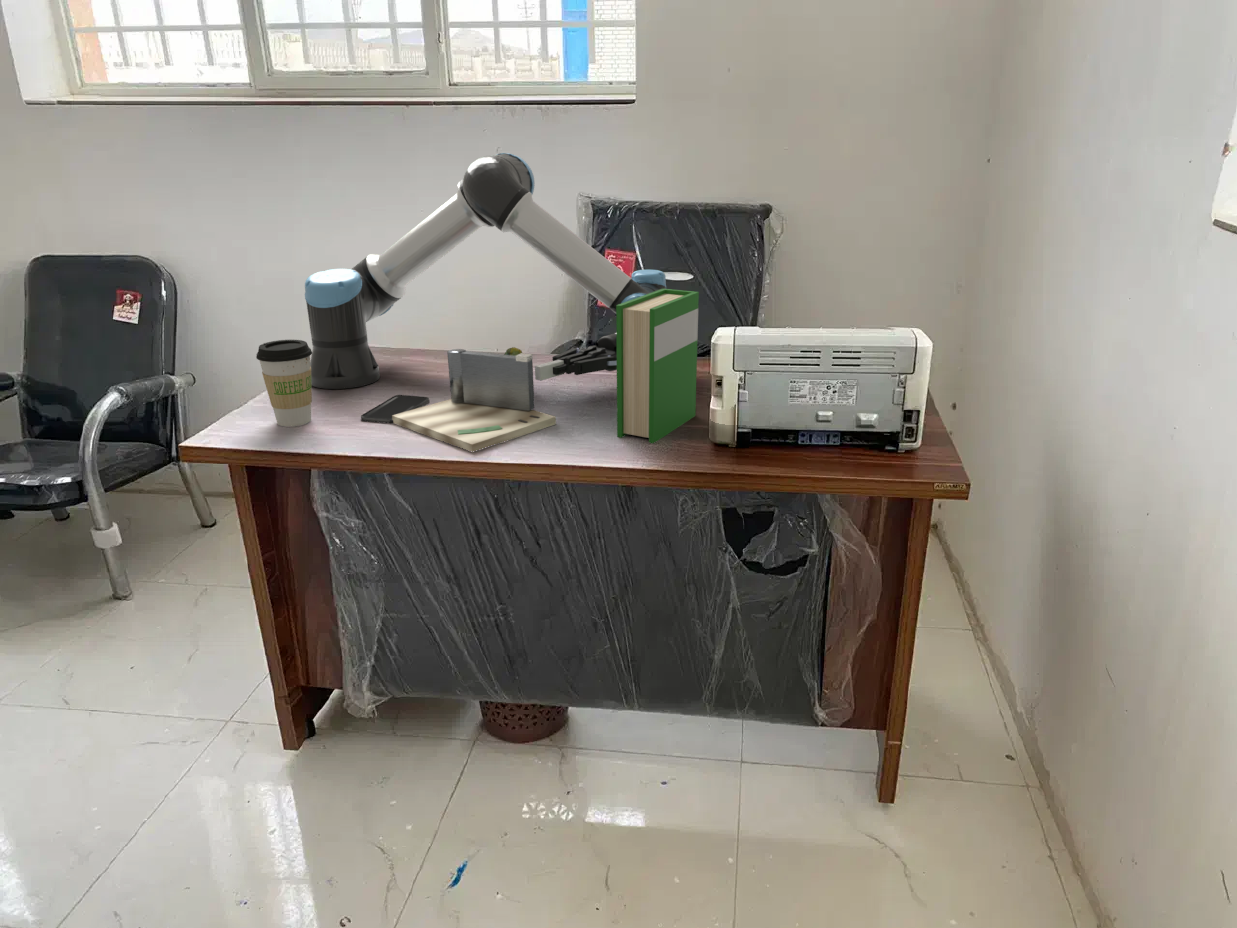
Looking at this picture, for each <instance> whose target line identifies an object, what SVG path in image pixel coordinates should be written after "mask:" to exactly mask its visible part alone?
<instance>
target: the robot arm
mask: <svg viewBox="0 0 1237 928" xmlns="http://www.w3.org/2000/svg"><path fill="white" fill-rule="evenodd" d="M534 191H535V176H534V173H533V171H532V169H531V167H530V166H529V163H527V162H526V161H525V160H524V159H523V158H521V156H518V155H515V154H512V153H509V152H501V153H500V152H499V153H496V154H494V155H485V156H481V157H479V158H476V159H475V160H473V162H471V163H470V165H469V166H468V167H467V168H466V170H465V172H464V175H463V178H462V179H461V180H459V181H458V183H457V191H456V193H455V194H454V195H452V196H451V197H450V198H449V199H448V200H447V201H446V202H444V203H443V204H442V205H441V206H439V207H438V208H437V209H435V210H434V211H433V212H432V213H431V214H429V215H428V216H427V217H426V218H424V219H423V220H422V221H421V222H419V223H418V224H417V225H415V226H414V227H413V228H411V229H410V231H408V232H407V233H406V234H404V235H403V236H402V237H401V238H399V239H398V240H397V241H396V242H394V243H393V244H392V245H391V246H390V247H388V248H387V249H386V250H385V251H383V252H382V253H381V254H376V253H370V254H368V255H367V256H365V258H363V259H362V260H360V261H359V262H358V263H357V264H356V265H355V266H353V267H352V268H351V269H349V268H331V269H326V270H325V271H324V270H323V271H322V270H321V271H318V272H315V273H312V274H311V275H309V276H308V277H307V278H306V280H305V281H304V290H305V291H304V299H305V301H306V309H307V316H308V317H307V318H308V322H309V330H310V337H311V343H312V344H311V345H312V349H311V351H312V354H311V355H310V367H311V387H314V388H318V389H324V390H325V389H326V390H343V389H344V390H345V389H352V388H358V387H363V386H367V385H370V384H373V383H375V382H377V381H378V380H380V378H381V375H380V368H379V365H378V362H377V359H376V358H375V355H374V354H373V351H372V349H371V347H370V345H369V339H368V330H367V323H368V322H369V321H371V320H374V319H375V318H378V317H381V316H382V315H384V314H386V313H387V312H389V311H390V310H391V308H392V307H393V306H394V304H395V303H397V302H398V301H400V299H402V298H403V297H404V296H405V295H406V286H407V285H408V284H410V283H411V282H412V281H414V280H415V279H417V278H418V277H419V276H421V275H422V274H423V273H424V272H425V271H426V270H428V269H429V268H430V267H432V266H433V265H434V264H435V263H437V262H438V261H440V260H441V259H442V258H443V257H445V256H446V255H448V253H450V252H451V251H452V250H454V249H455V248H456V247H458V245H460V244H461V243H462V242H464V241H465V240H466V239H467V238H469V237H470V236H471V235H473V234H474V233H475V232H477V231H478V230H480V228H482V227H487V228H493V227H496V228H497V229H498V230H500V231H501V232H502V233H512V234H513V235H514V236H515V237H517V238H518V239H520V240H521V241H522V242H523V243H525V244H526V245H527V246H528V247H530V248H531V249H532V250H534V252H536V253H538V254H539V255H540V256H541V257H542V258H544V259H545V260H546V261H548V263H550V264H551V265H553V266H554V267H555V268H557V269H558V270H559V271H561V272H562V273H563V274H564V275H566V276H567V277H569V278H570V279H571V280H572V281H574V283H576V284H577V285H579V287H581V288H583V289H584V290H585V291H586V292H588V293H589V294H590V295H592V296H593V298H595V299H596V300H598V301H599V302H601V303H602V304H603V305H605V306H606V307H607V308H609V310H610V311H612V312H613V313H614V314H616V305H618V304H621V303H624V302H627V301H630V300H632V299H635V298H638V297H641V296H644V295H646V294H649V293H652V292H655V291H657V290H660V289H667V285H666V283H667V282H666V277H667V276H666V274H665V273H664V271H661V270H658V269H639V270H636V271H633V272H632V273H631V277H630V276H629V274H628V275H627V273H625V272H624V271H623V270H622V269H620V268H619V267H617V266H616V265H615V264H614V263H613V262H612V261H610V260H609V259H607V258H606V257H605V256H603V255H602V254H601V253H600V252H598V251H597V249H595V248H593V247H592V246H591V245H590V244H588V242H586V241H585V240H583V239H582V238H581V237H579V236H578V235H577V234H575V232H573V231H572V230H570V228H568V227H567V226H565V225H564V223H561V222H560V221H559V220H558V219H557V218H555V217H554V216H553V215H552V214H550V213H549V212H548V211H546V210H545V209H544V208H543V207H541V206H540V205H539V204H537V203H536V202H535V201H534V198H533V195H534ZM601 371H607V372H614V371H617V333H616V332H615V333H612V334H608V335H604V336H602V337H600V338H599V339H598V340H597V341H596V343H595V345H590V346H588V347H586V348H583V349H580V348H579V347H578V346H572V347H570V349H567V350H566V351H563V352H561V353H559V354H556V355H554V356H552V361H548V362H545V363H541V364H537V365H535V366H534V376H535V377H534V378H535V380H536V381H544V380H549V379H551V378H556V377H559V376H561V375H562V376H563V375H565V374H566V375H571V374H574V375H575V376H579V375H585V374H591V373H596V372H601Z"/></svg>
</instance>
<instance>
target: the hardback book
mask: <svg viewBox="0 0 1237 928" xmlns="http://www.w3.org/2000/svg"><path fill="white" fill-rule="evenodd" d="M699 294H700V292H699V291H693V290H692V291H691V290H682V289H671V288H666V289H660V290H657V291H655V292H652V293H649V294H646V295H644V296H641V297H638V298H635V299H632V300H630V301H627V302H624V303H621V304H618V305H616V313H615V315H616V318H615V319H616V321H615V324H616V332H615V333H617V370H616V430H617V431H616V435H617V436H616V437H617V438H623V437H625V436H627V435H630V436H631V435H632V436H637V437H642V438H648V443H649V442H650V443H649V444H653V443H654V442H655V443H657V442H658V441H660V440H661V439H663V438H664V437H666V436H667V435H669V434H670V433H672V432H673V431H675V430H676V429H677V428H680V427H681V426H682V425H684V424H686V423H687V422H689V421H690V420H692V419H693V418H694V417H696V411H697V408H696V405H697V401H696V400H697V373H698V372H697V370H698V336H699V335H698V334H699V333H698V332H699V331H698V330H699V326H698V325H699V298H700V295H699ZM656 441H657V442H656ZM655 443H654V444H655Z"/></svg>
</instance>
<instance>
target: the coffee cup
mask: <svg viewBox="0 0 1237 928" xmlns="http://www.w3.org/2000/svg"><path fill="white" fill-rule="evenodd" d="M311 355H312V349H311V347H309V345H308V343H307V341H305V340H301V339H280V340H279V339H278V340H273V341H269V342H263V343H262V344H260V345H258V351H257V353H256V356H255V357H256V360H258V361H259V363H260V367H261V370H262V372H261V374H262V377H263V381H264V384H265V388H266V391H267V395H268V399H269V401H270V405H271V407H272V410H273V414H274V416H275V420H276V424H277V425H278V426H280V427H287V428H291V427H292V428H294V427H301V426H304V425H307V424H309V423H311V421H312V402H313V398H312V397H313V395H312V393H313V392H312V385H311V367H310V360H311Z"/></svg>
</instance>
